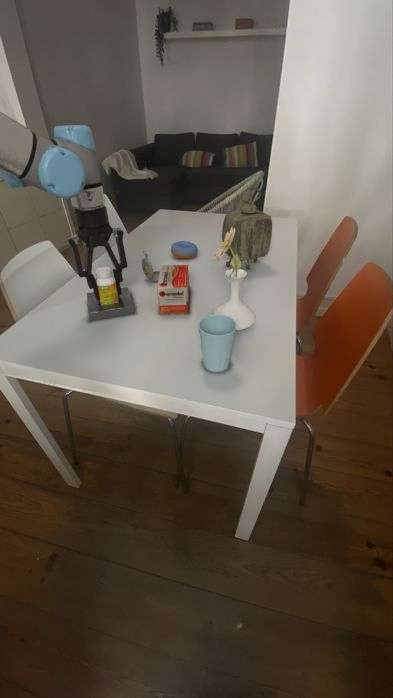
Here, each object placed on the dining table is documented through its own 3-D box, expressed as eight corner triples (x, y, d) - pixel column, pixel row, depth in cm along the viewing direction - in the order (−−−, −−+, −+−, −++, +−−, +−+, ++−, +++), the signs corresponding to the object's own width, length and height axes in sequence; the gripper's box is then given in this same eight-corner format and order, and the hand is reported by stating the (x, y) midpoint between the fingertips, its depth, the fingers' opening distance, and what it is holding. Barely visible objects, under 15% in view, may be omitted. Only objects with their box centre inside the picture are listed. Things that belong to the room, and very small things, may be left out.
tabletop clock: (257, 258, 115) (265, 182, 100) (270, 268, 109) (281, 188, 93) (220, 265, 112) (223, 187, 96) (232, 275, 105) (236, 193, 90)
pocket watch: (172, 275, 106) (170, 246, 99) (159, 286, 100) (156, 255, 93) (151, 272, 108) (147, 242, 102) (137, 282, 102) (133, 252, 96)
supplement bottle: (102, 309, 87) (95, 276, 81) (98, 300, 90) (90, 268, 84) (122, 304, 88) (115, 271, 82) (116, 296, 92) (110, 264, 86)
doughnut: (202, 253, 120) (202, 241, 118) (188, 262, 114) (187, 250, 111) (181, 249, 125) (180, 237, 122) (166, 257, 118) (165, 245, 115)
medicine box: (163, 288, 98) (161, 264, 94) (189, 288, 98) (188, 263, 93) (159, 314, 87) (156, 287, 82) (188, 313, 86) (187, 287, 82)
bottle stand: (90, 321, 84) (88, 313, 83) (88, 300, 93) (86, 292, 92) (134, 313, 87) (133, 305, 86) (128, 294, 96) (127, 286, 94)
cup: (228, 350, 73) (230, 312, 67) (238, 372, 67) (241, 332, 61) (196, 355, 72) (195, 316, 66) (203, 378, 66) (202, 337, 60)
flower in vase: (221, 307, 89) (225, 213, 73) (261, 316, 85) (273, 219, 69) (200, 331, 80) (199, 230, 64) (243, 343, 76) (252, 238, 60)
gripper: (49, 216, 68) (77, 309, 82) (132, 204, 74) (144, 293, 89) (45, 208, 73) (71, 297, 87) (123, 198, 80) (135, 282, 94)
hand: (108, 295), depth 88 cm, fingers closed on supplement bottle, 5 cm apart
